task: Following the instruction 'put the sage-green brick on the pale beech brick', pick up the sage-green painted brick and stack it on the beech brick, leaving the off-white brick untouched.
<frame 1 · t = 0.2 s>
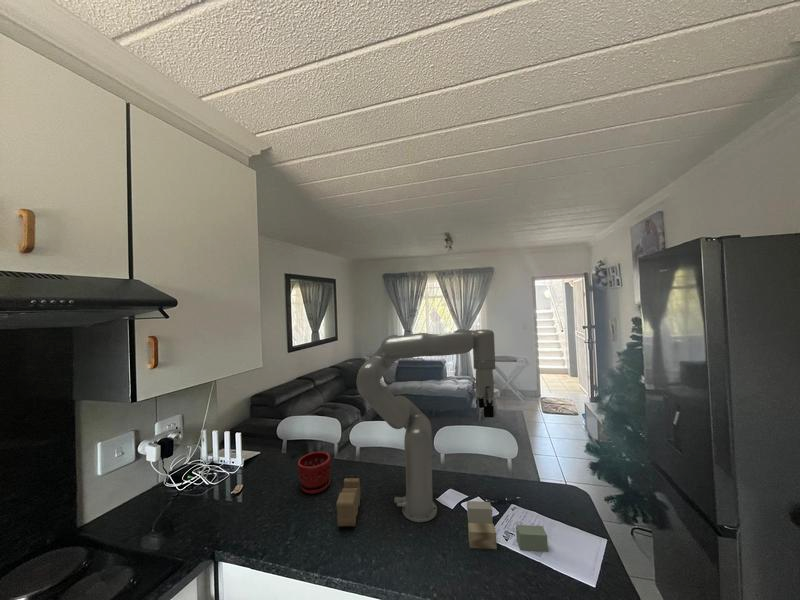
hand: (486, 412, 110), 36 cm above the countertop, tool pointing down, fingers open, 9 cm apart
sage brick: (531, 546, 95), on the countertop
offwhite brick: (479, 519, 107), on the countertop
beech brick: (482, 543, 96), on the countertop
plant pot: (314, 487, 128), on the countertop
toy train: (349, 516, 110), on the countertop
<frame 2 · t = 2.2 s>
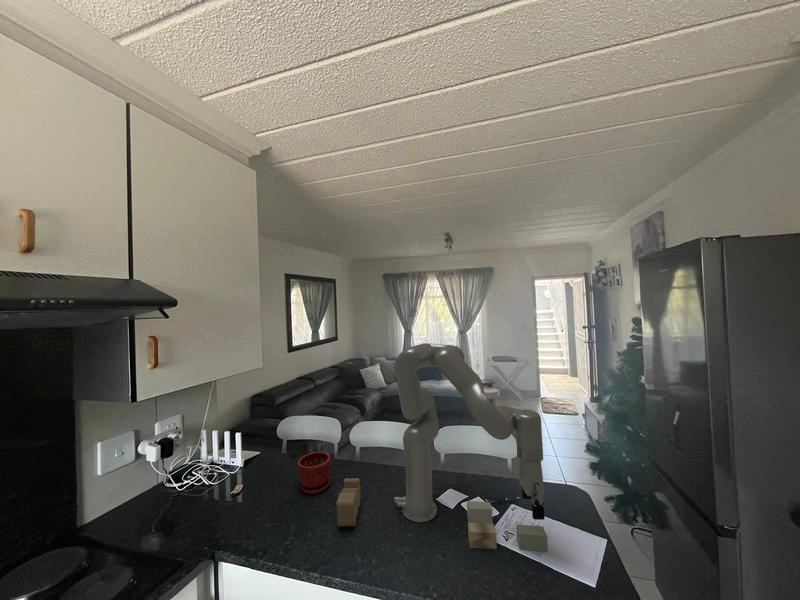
hand: (532, 508, 95), 12 cm above the countertop, tool pointing down, fingers open, 9 cm apart
nothing on the countertop moved.
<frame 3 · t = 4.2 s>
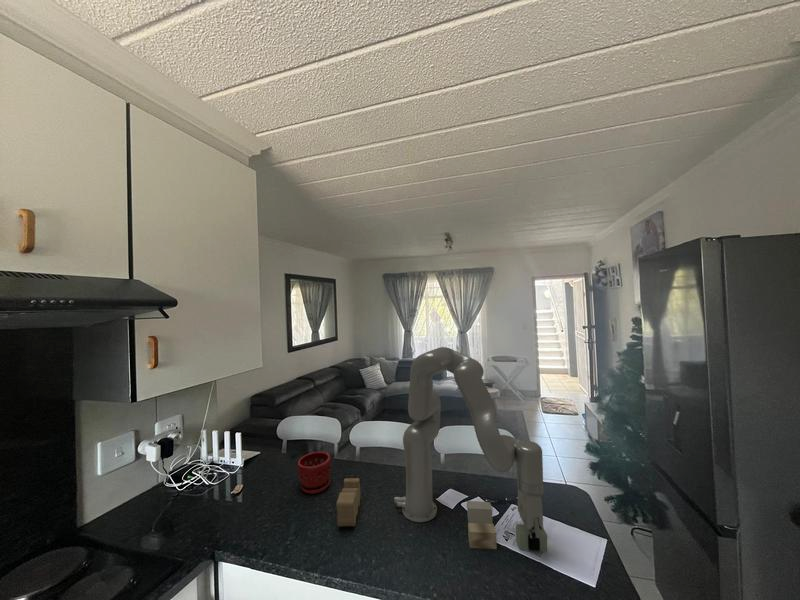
hand: (531, 543, 95), 1 cm above the countertop, tool pointing down, fingers closed on sage brick, 4 cm apart
sage brick: (531, 545, 95), on the countertop, touching gripper
everything else where it was.
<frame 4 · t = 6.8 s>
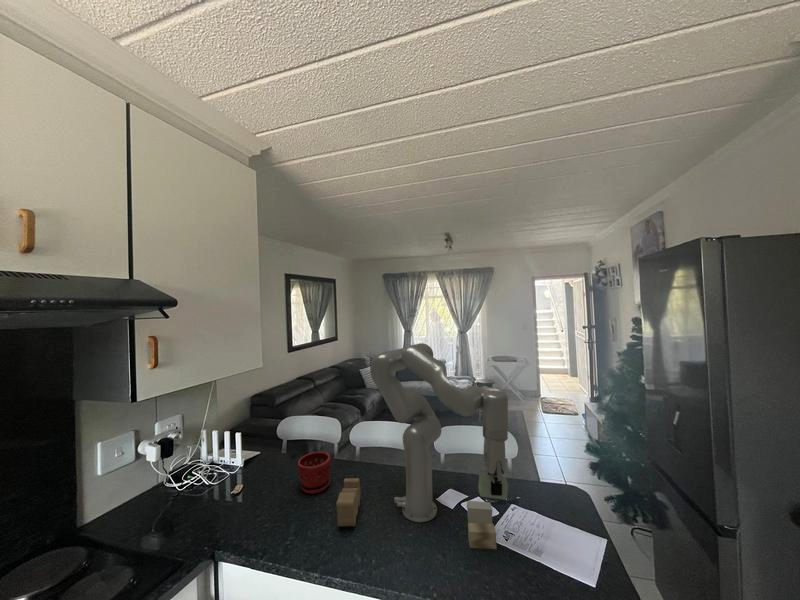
hand: (494, 489, 97), 17 cm above the countertop, tool pointing down, fingers closed on sage brick, 4 cm apart
sage brick: (492, 494, 97), point 15 cm above the countertop, tilted 7°, touching gripper
everything else where it was.
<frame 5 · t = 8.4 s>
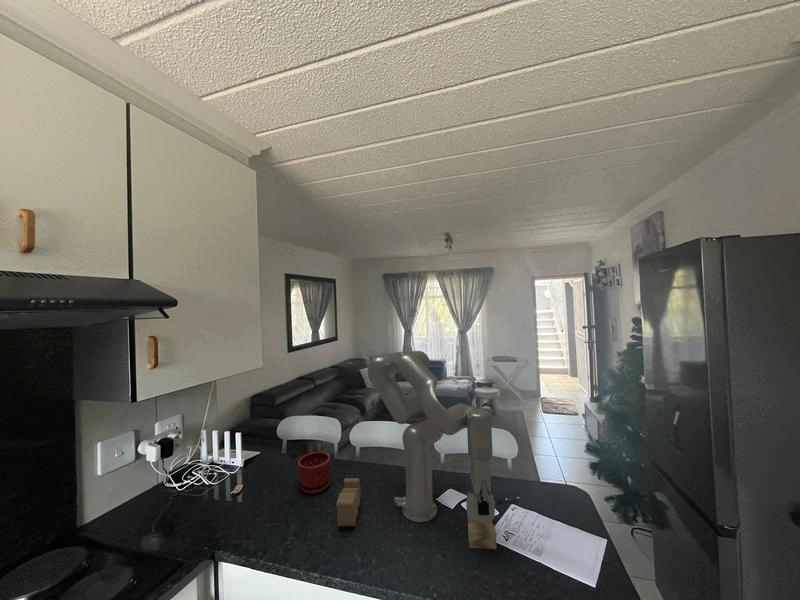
hand: (482, 509, 96), 11 cm above the countertop, tool pointing down, fingers closed on sage brick, 4 cm apart
sage brick: (480, 513, 96), point 9 cm above the countertop, touching gripper
everything else where it was.
when the fingers open (7 cm above the countertop, at t = 9.8 s): sage brick stays where it is, resting on beech brick.
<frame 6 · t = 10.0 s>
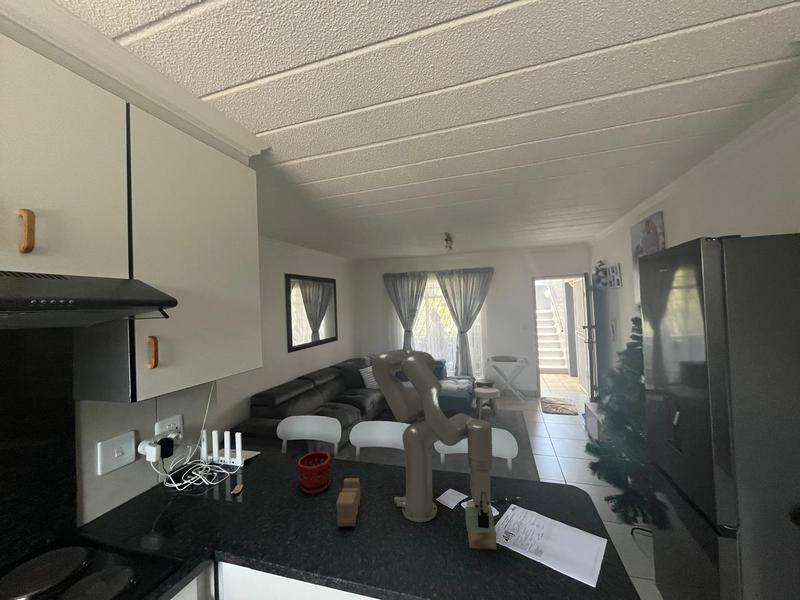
hand: (481, 518, 97), 8 cm above the countertop, tool pointing down, fingers open, 6 cm apart
sage brick: (479, 527, 96), point 5 cm above the countertop, touching beech brick
beech brick: (482, 543, 96), on the countertop, touching sage brick
everything else where it was.
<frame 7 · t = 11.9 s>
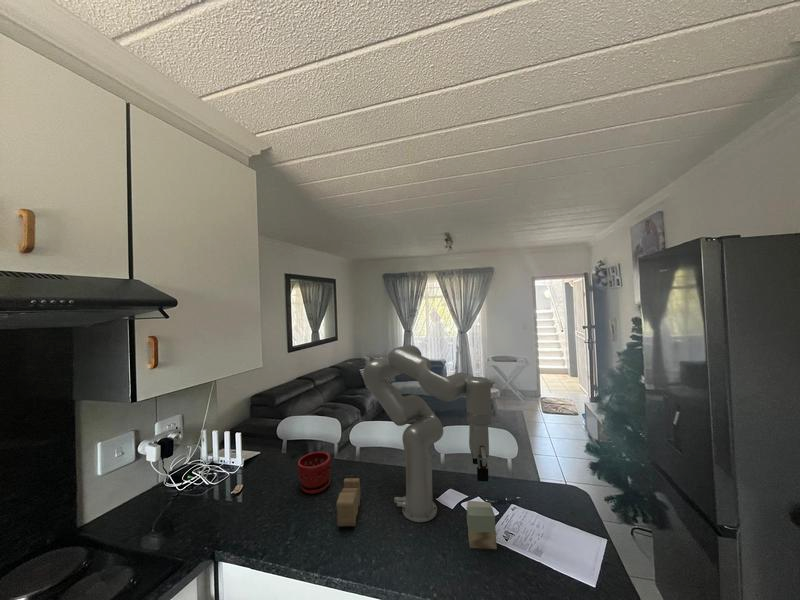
hand: (480, 471, 97), 22 cm above the countertop, tool pointing down, fingers open, 9 cm apart
nothing on the countertop moved.
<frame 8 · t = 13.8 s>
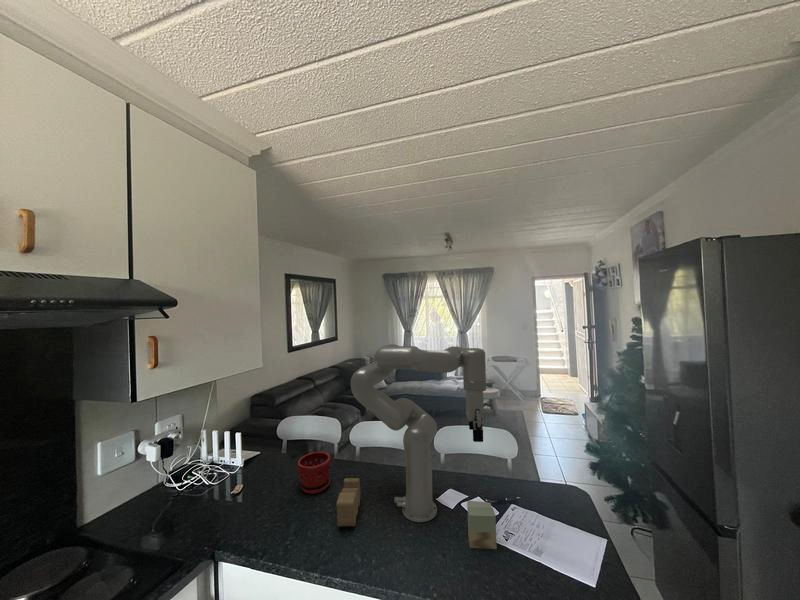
hand: (475, 435, 105), 30 cm above the countertop, tool pointing down, fingers open, 9 cm apart
nothing on the countertop moved.
at the end: sage brick 0.1 cm off-centre on the beech brick, point 5.0 cm above the beech brick's base; beech brick moved 0.1 cm from its start; offwhite brick moved 0.2 cm from its start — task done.
